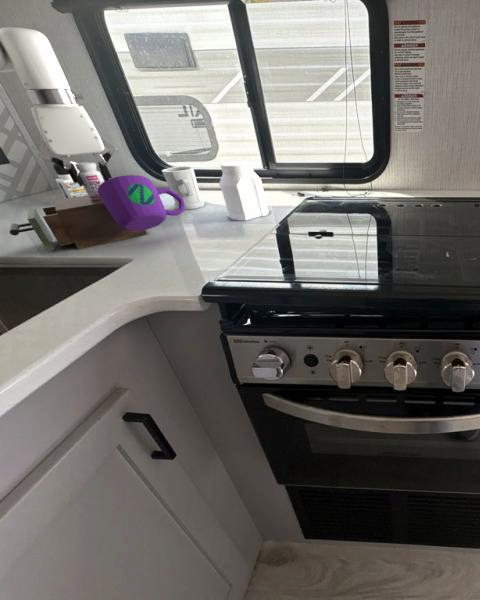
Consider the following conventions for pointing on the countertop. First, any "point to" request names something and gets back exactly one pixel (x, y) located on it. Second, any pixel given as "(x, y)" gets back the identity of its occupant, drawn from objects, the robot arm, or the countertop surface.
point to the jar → (242, 191)
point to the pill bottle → (90, 178)
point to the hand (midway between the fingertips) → (94, 182)
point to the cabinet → (90, 222)
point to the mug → (136, 202)
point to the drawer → (41, 229)
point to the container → (68, 182)
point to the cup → (184, 186)
